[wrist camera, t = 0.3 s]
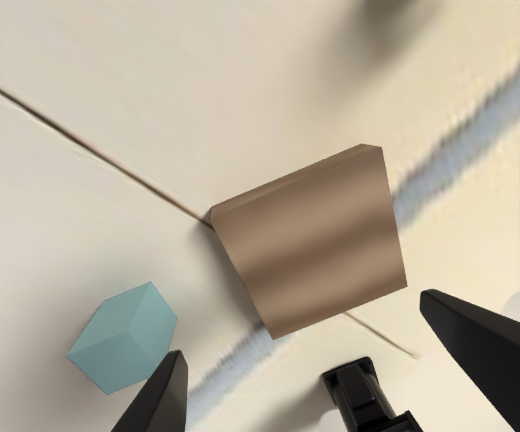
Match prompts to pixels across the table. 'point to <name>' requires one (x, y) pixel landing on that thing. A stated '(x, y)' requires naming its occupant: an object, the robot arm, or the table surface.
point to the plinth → (315, 240)
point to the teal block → (125, 339)
